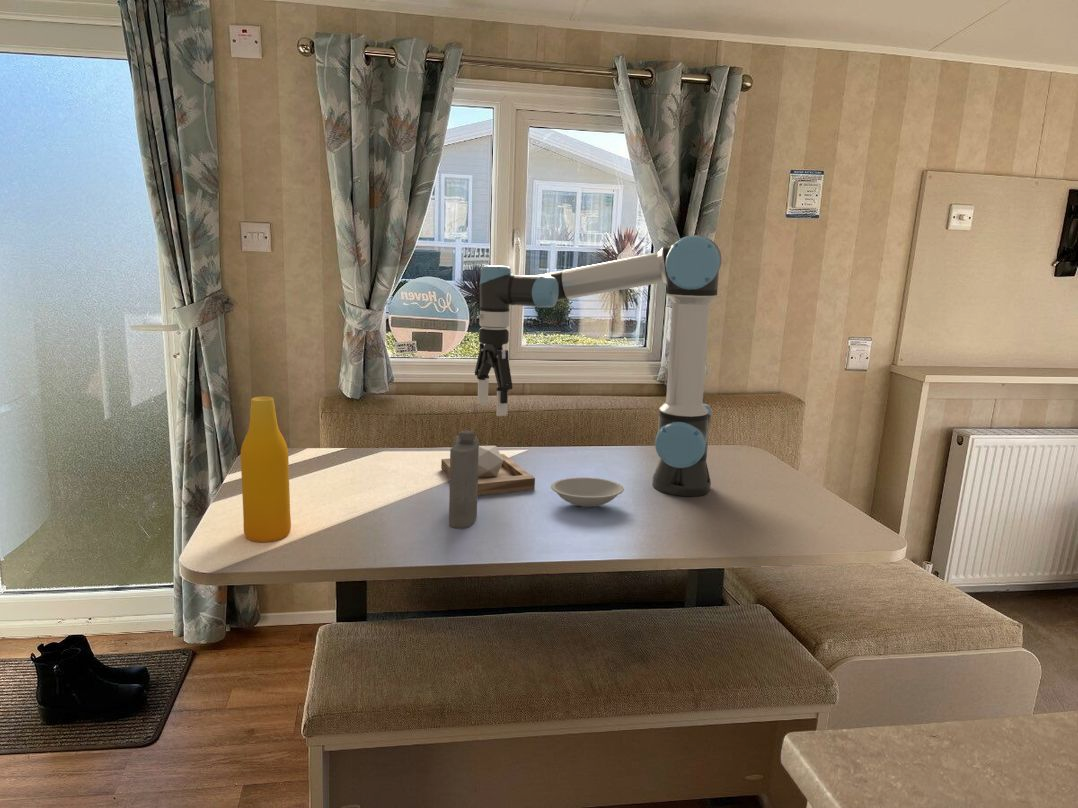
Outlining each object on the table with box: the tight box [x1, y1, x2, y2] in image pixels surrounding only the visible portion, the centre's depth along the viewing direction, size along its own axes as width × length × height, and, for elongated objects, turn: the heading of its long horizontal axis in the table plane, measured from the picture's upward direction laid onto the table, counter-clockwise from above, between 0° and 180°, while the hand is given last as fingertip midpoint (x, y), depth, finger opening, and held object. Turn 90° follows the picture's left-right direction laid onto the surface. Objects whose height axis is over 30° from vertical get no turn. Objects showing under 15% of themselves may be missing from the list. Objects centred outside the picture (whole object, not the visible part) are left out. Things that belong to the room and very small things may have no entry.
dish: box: [550, 476, 625, 509], centre depth 178 cm, size 18×14×5 cm
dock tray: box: [440, 453, 536, 496], centre depth 195 cm, size 22×18×3 cm
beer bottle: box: [240, 396, 292, 543], centre depth 151 cm, size 9×9×29 cm
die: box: [478, 445, 504, 477], centre depth 194 cm, size 8×9×10 cm
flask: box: [448, 429, 480, 529], centre depth 167 cm, size 15×6×20 cm, turn 1°
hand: (492, 409), depth 192 cm, fingers open, 13 cm apart
